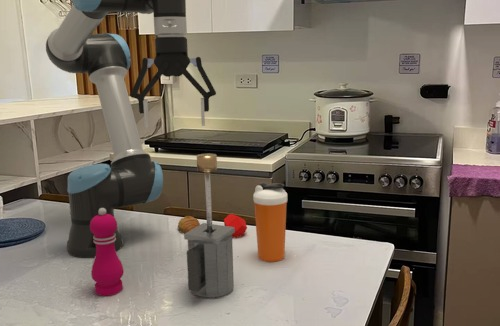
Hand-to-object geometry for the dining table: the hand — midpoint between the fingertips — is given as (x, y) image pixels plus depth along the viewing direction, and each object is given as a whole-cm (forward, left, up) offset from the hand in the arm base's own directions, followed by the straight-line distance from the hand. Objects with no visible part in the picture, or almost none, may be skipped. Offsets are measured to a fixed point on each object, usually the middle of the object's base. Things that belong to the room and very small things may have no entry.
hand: (175, 126), depth 128 cm
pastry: (-13, +25, -37) cm, 46 cm away
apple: (+2, +26, -37) cm, 45 cm away
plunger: (+14, -9, -25) cm, 30 cm away
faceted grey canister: (+14, -10, -36) cm, 40 cm away
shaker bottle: (+19, +14, -37) cm, 44 cm away
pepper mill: (-8, -19, -37) cm, 42 cm away
